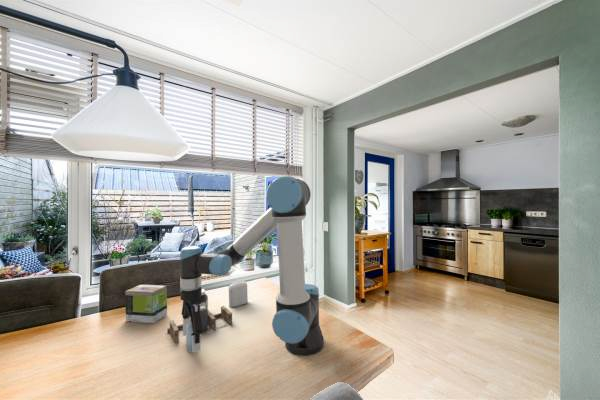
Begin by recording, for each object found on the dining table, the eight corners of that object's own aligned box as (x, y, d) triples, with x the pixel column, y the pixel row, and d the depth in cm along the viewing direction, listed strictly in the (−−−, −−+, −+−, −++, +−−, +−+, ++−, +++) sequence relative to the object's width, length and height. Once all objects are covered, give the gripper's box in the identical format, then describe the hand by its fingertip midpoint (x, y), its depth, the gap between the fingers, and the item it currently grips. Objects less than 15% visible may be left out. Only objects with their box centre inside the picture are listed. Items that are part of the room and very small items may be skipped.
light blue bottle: (199, 348, 96) (198, 323, 96) (187, 353, 93) (187, 326, 93) (196, 344, 99) (195, 319, 99) (185, 348, 96) (184, 322, 96)
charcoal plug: (209, 330, 109) (208, 307, 109) (199, 333, 107) (199, 310, 106) (206, 326, 112) (206, 304, 112) (197, 329, 110) (196, 307, 110)
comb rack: (233, 323, 115) (233, 312, 115) (172, 343, 99) (172, 331, 99) (224, 314, 123) (224, 304, 123) (167, 332, 108) (167, 320, 108)
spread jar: (199, 319, 119) (198, 295, 119) (177, 318, 121) (177, 294, 120) (212, 308, 130) (212, 286, 130) (192, 307, 132) (192, 285, 132)
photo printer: (230, 308, 130) (230, 285, 130) (227, 305, 134) (227, 282, 134) (248, 303, 137) (248, 280, 137) (245, 300, 140) (245, 279, 140)
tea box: (167, 314, 125) (167, 284, 125) (152, 324, 115) (152, 292, 115) (141, 312, 127) (141, 283, 127) (124, 321, 118) (124, 290, 117)
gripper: (211, 295, 88) (211, 354, 89) (192, 277, 108) (192, 325, 108) (189, 300, 84) (189, 363, 84) (173, 280, 103) (173, 331, 104)
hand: (191, 342), depth 96 cm, fingers open, 13 cm apart
